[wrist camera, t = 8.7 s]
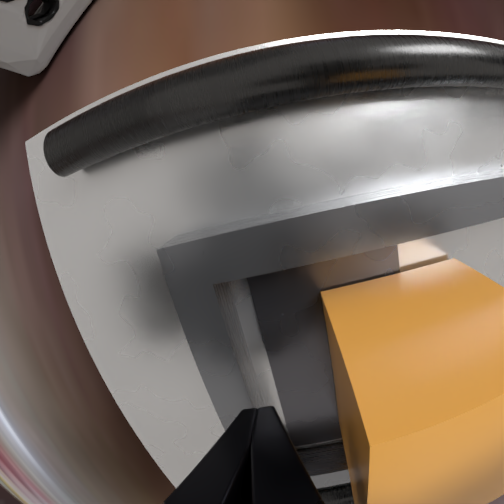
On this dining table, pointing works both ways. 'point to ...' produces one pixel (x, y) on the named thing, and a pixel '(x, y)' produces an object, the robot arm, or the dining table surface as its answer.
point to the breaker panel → (265, 221)
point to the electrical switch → (35, 32)
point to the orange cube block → (420, 384)
